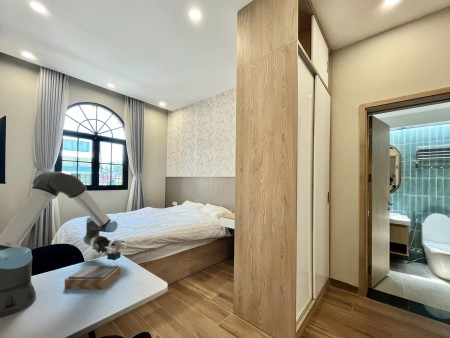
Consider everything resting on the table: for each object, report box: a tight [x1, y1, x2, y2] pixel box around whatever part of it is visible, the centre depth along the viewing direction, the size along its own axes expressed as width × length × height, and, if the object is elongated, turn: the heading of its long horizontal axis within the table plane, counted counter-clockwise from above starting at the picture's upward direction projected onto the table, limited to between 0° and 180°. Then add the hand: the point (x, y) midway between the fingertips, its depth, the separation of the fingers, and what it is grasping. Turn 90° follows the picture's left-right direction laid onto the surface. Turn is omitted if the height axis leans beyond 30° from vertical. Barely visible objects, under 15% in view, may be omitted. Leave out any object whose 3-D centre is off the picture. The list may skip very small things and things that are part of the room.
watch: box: [106, 238, 122, 261], centre depth 118 cm, size 6×8×11 cm
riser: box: [64, 265, 122, 290], centre depth 102 cm, size 20×14×5 cm
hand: (118, 248), depth 115 cm, fingers closed on watch, 8 cm apart
